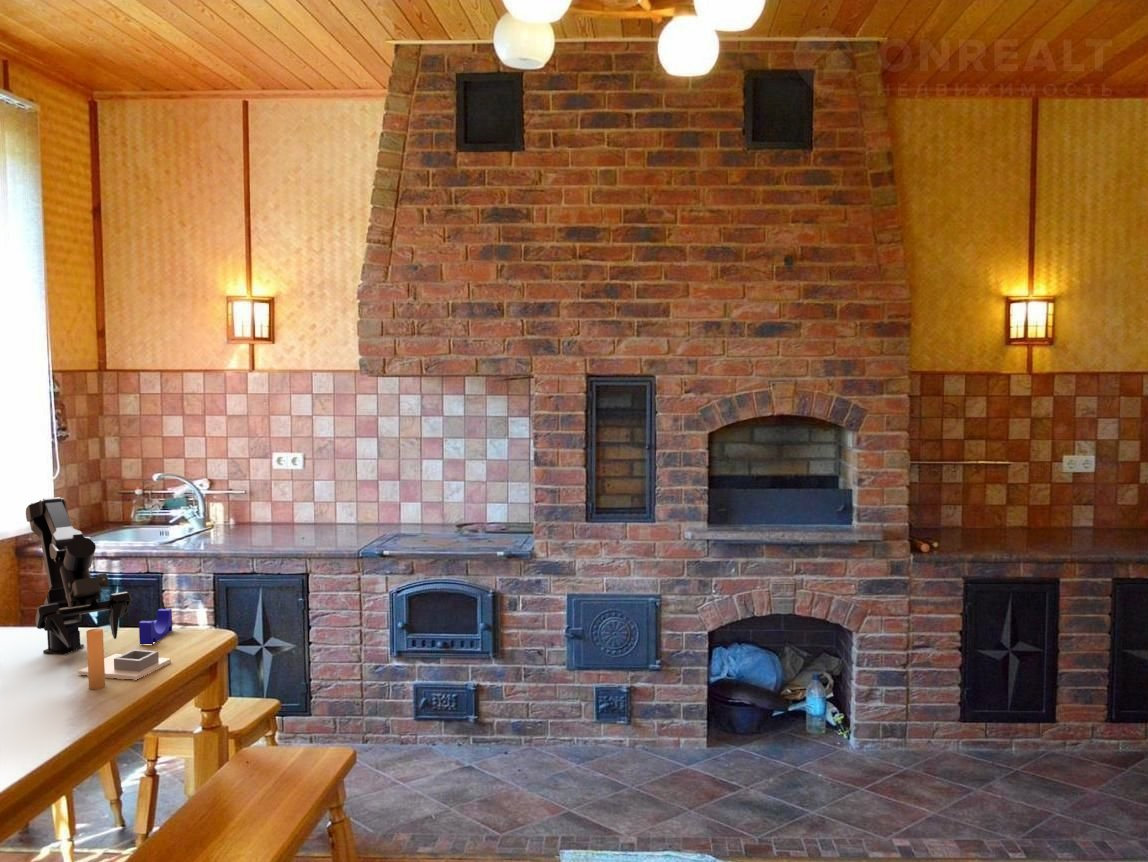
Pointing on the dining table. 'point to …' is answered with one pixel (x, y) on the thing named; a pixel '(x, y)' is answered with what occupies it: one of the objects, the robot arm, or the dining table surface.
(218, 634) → the dining table surface
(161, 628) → the cable clip
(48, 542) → the robot arm
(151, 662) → the keeper plate
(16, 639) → the dining table surface
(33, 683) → the dining table surface
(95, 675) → the toggle bar
